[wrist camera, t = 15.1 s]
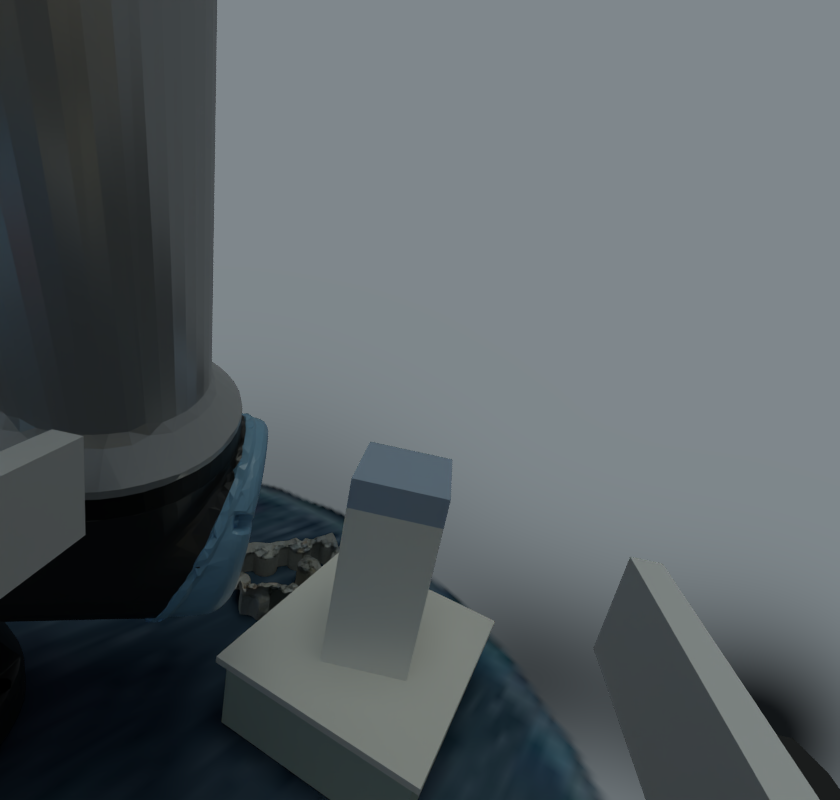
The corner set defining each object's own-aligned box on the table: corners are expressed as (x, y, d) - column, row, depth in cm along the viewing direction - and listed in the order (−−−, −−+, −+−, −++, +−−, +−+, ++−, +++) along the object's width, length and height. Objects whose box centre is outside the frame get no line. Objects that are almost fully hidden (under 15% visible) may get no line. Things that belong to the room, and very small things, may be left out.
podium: (210, 723, 32) (216, 656, 31) (334, 600, 46) (343, 548, 44) (400, 861, 27) (420, 789, 26) (478, 676, 41) (494, 621, 39)
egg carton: (236, 628, 41) (239, 589, 40) (228, 572, 47) (231, 537, 46) (352, 607, 46) (359, 572, 45) (331, 558, 52) (336, 527, 51)
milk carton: (320, 661, 32) (351, 478, 28) (341, 600, 38) (370, 441, 34) (406, 681, 32) (450, 500, 28) (414, 617, 38) (452, 459, 33)
